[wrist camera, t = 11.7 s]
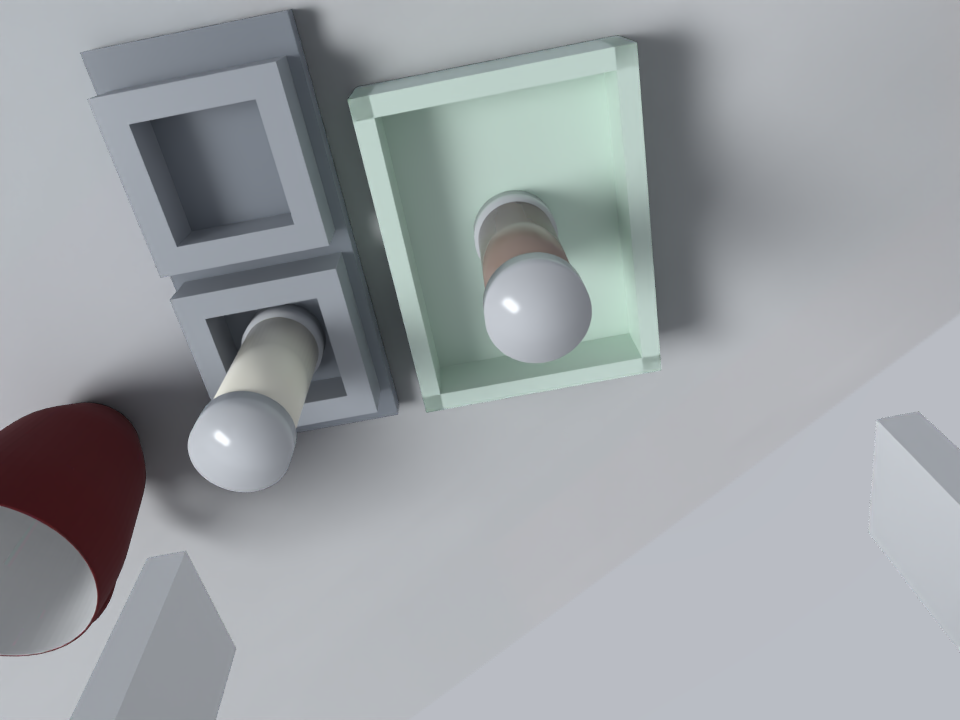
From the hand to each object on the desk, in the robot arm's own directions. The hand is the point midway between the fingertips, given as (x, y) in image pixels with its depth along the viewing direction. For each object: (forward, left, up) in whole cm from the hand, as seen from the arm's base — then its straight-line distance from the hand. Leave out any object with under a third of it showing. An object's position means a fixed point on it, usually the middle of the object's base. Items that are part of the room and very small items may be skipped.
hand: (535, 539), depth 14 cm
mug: (+8, -21, -21) cm, 31 cm away
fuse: (+3, -10, -20) cm, 22 cm away
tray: (0, +1, -21) cm, 21 cm away
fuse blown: (0, +1, -20) cm, 20 cm away
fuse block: (-1, -10, -21) cm, 23 cm away
